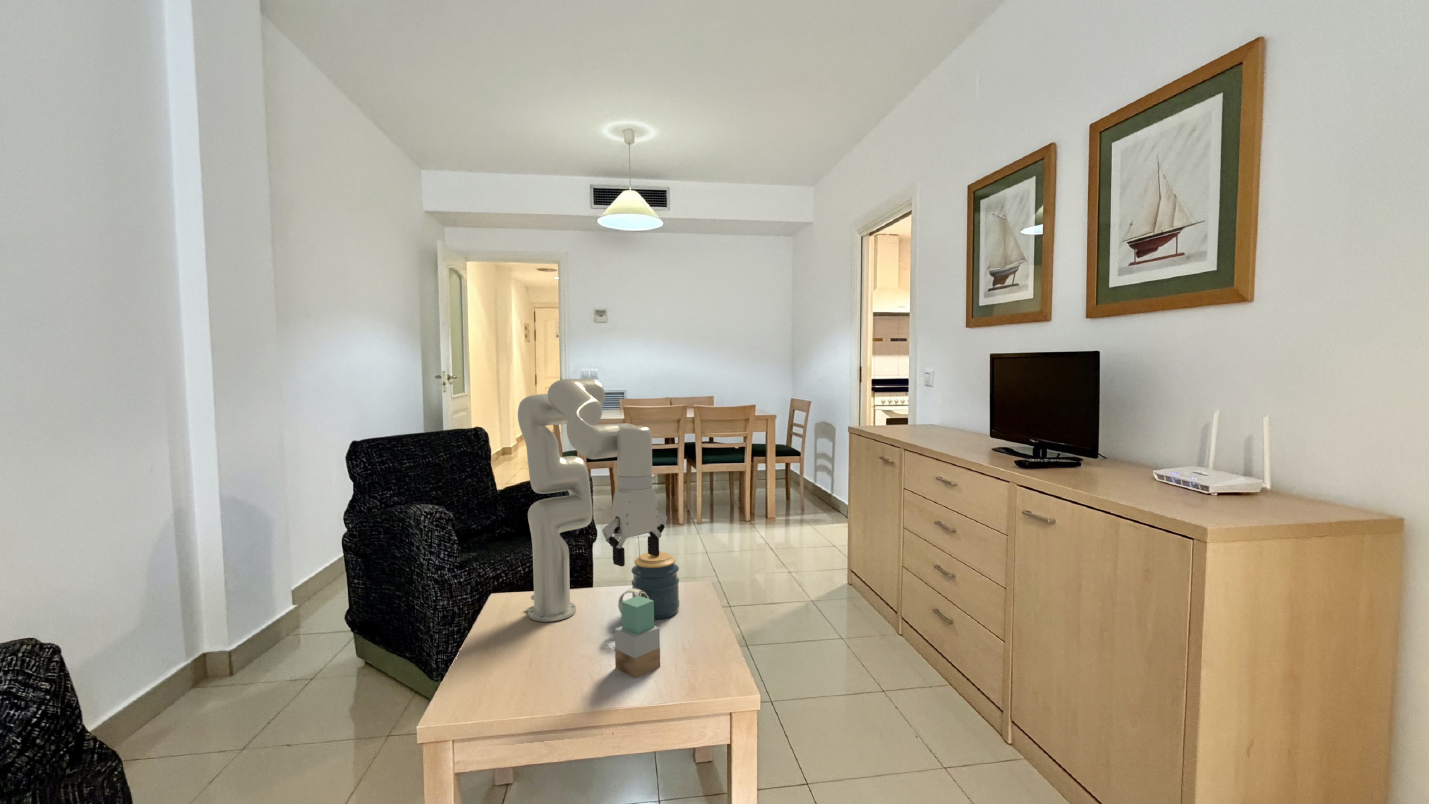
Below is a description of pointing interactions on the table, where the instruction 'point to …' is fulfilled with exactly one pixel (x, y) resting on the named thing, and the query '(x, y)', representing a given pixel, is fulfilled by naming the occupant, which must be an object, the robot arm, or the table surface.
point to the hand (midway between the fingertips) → (636, 559)
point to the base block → (637, 663)
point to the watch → (635, 592)
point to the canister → (658, 582)
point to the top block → (637, 641)
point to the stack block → (637, 614)
